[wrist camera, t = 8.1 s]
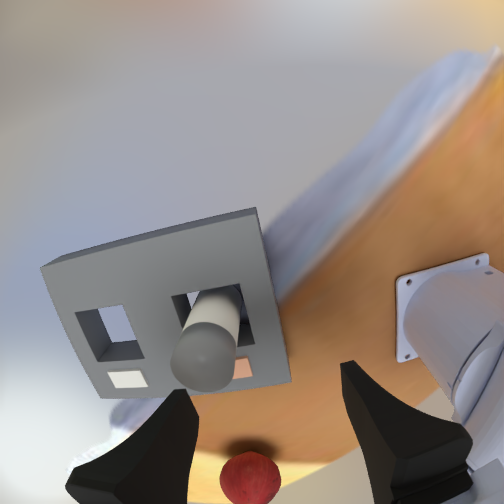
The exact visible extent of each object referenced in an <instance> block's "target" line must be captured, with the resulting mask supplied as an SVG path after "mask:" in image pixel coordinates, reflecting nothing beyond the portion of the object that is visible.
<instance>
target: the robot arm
mask: <svg viewBox="0 0 504 504" xmlns="http://www.w3.org/2000/svg"><path fill="white" fill-rule="evenodd" d="M476 260H477V262H476ZM475 262H476V263H475ZM409 279H410V282H409V283H408V284H406V282H407V280H409ZM396 305H397V340H396V360H397V361H398V362H400V363H401V362H405V361H408V360H411V359H414V358H417V357H420V359H421V360H422V362H423V363H424V364H425V366H426V367H427V368H428V370H429V371H430V373H431V374H432V376H433V377H434V378H435V380H436V381H437V383H438V384H439V385H440V387H441V388H442V390H443V391H444V393H445V394H446V396H447V397H448V399H449V400H450V402H451V403H452V405H453V406H454V414H453V415H452V420H453V421H454V422H451V421H447V420H443V419H439V418H436V417H433V416H431V415H428V414H426V413H423V412H421V411H419V410H417V409H415V408H413V407H411V406H409V405H407V404H405V403H404V402H402V401H400V400H399V399H397V398H396V397H394V396H393V395H392V394H390V393H389V392H387V391H386V390H385V389H384V388H382V387H381V386H380V385H379V384H378V383H376V382H375V381H374V380H373V379H372V378H371V377H370V376H369V375H368V374H367V373H366V372H365V371H364V370H363V369H362V368H361V367H360V366H359V365H358V364H357V363H356V362H355V361H354V360H352V361H348V362H344V363H340V368H341V380H342V394H343V399H344V402H345V406H346V410H347V414H348V416H349V419H350V421H351V424H352V426H353V429H354V431H355V434H356V436H357V439H358V441H359V444H360V446H361V449H362V452H363V455H364V459H365V462H366V467H367V471H368V475H369V479H370V484H371V488H372V493H373V498H374V503H375V504H504V273H502V272H501V271H499V270H497V269H495V268H494V267H492V266H490V265H489V255H488V254H486V253H481V254H478V255H475V256H472V257H468V258H465V259H462V260H458V261H455V262H451V263H448V264H444V265H441V266H437V267H434V268H430V269H427V270H423V271H419V272H416V273H412V274H408V275H404V276H401V277H399V278H398V279H397V281H396ZM407 354H408V355H407ZM406 355H407V356H406ZM405 356H406V357H405ZM198 429H199V416H198V414H197V411H196V409H195V407H194V405H193V403H192V401H191V399H190V397H189V395H188V392H187V390H186V388H185V389H174V390H173V391H172V392H171V393H170V394H169V396H168V397H167V398H166V399H165V400H164V402H163V403H162V404H161V405H160V406H159V407H158V409H157V410H156V411H155V412H154V413H153V414H152V415H151V416H150V418H149V419H148V420H147V421H146V422H145V423H144V424H143V425H142V426H141V427H140V428H139V429H138V430H137V431H136V432H134V433H133V434H132V435H131V436H130V437H129V438H127V439H126V440H125V441H124V442H122V443H121V444H119V445H118V446H116V447H115V448H113V449H112V450H110V451H109V452H107V453H106V454H104V455H102V456H100V457H98V458H96V459H94V460H92V461H90V462H88V463H85V464H83V465H80V466H78V467H75V468H74V469H73V471H72V473H71V475H70V477H69V479H68V481H67V483H66V485H65V488H66V490H67V492H68V493H69V494H70V495H71V496H72V497H73V498H74V499H75V500H76V501H77V502H78V503H79V504H187V492H188V481H189V473H190V468H191V464H192V459H193V455H194V451H195V446H196V442H197V437H198Z"/></svg>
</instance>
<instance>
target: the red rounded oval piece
mask: <svg viewBox="0 0 504 504" xmlns="http://www.w3.org/2000/svg"><path fill="white" fill-rule="evenodd" d="M220 485H221V488H222V490H223V492H224V494H225V495H226V497H227V498H228V499H229V500H230V501H231V502H232V503H234V504H268V503H269V502H270V501H271V500H272V499H273V498H274V496H275V495H276V493H277V492H278V491H279V488H280V486H281V476H280V472H279V469H278V466H277V465H276V464H275V463H274V462H273V461H272V460H270V459H269V458H267V457H266V456H264V455H261V454H258V453H255V452H254V451H246V452H245V453H243V454H239V455H237V456H235V457H233V458H231V459H230V460H228V461H227V462H226V464H225V465H224V466H223V468H222V471H221V474H220Z"/></svg>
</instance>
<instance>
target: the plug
mask: <svg viewBox="0 0 504 504" xmlns="http://www.w3.org/2000/svg"><path fill="white" fill-rule="evenodd" d="M241 306H242V299H241V295H240V293H239V291H238V290H237V289H236V288H235V287H234V286H233V285H228V286H222V287H217V288H212V289H207V290H201V291H200V292H199V294H198V296H197V298H196V301H195V303H194V305H193V308H192V310H191V312H190V314H189V317H188V319H187V321H186V324H185V326H184V328H183V330H182V333H181V335H180V337H179V340H178V342H177V344H176V347H175V349H174V352H173V354H172V356H171V360H170V367H171V371H172V373H173V375H174V376H175V378H176V379H177V380H178V381H179V382H180V383H181V384H182V385H184V386H185V387H187V388H189V389H191V390H194V391H198V392H206V393H207V392H215V391H219V390H221V389H223V388H225V387H226V386H227V385H228V384H229V383H230V382H231V381H232V379H233V376H234V369H235V360H236V351H237V342H238V333H239V324H240V315H241Z"/></svg>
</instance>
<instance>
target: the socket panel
mask: <svg viewBox="0 0 504 504" xmlns="http://www.w3.org/2000/svg"><path fill="white" fill-rule="evenodd" d="M40 270H41V273H42V276H43V278H44V281H45V284H46V286H47V289H48V292H49V294H50V297H51V299H52V301H53V304H54V307H55V309H56V311H57V314H58V316H59V318H60V321H61V323H62V325H63V327H64V330H65V332H66V333H67V336H68V338H69V340H70V342H71V344H72V346H73V348H74V350H75V352H76V354H77V356H78V358H79V360H80V362H81V364H82V366H83V368H84V370H85V372H86V373H87V375H88V377H89V379H90V380H91V382H92V384H93V386H94V388H95V389H96V391H97V393H98V394H99V396H100V398H106V399H130V398H162V397H168V396H169V394H170V393H171V392H172V391H173V390H174V389H185V388H186V390H187V392H188V395H189V396H192V395H203V394H214V393H223V392H231V391H239V390H246V389H253V388H260V387H266V386H272V385H278V384H284V383H290V382H292V381H291V373H290V366H289V359H288V354H287V349H286V344H285V339H284V334H283V330H282V325H281V320H280V315H279V311H278V306H277V301H276V296H275V292H274V287H273V282H272V278H271V273H270V268H269V264H268V259H267V255H266V250H265V245H264V241H263V236H262V232H261V227H260V223H259V218H258V214H257V210H256V207H253V208H249V209H244V210H240V211H235V212H231V213H226V214H222V215H217V216H213V217H209V218H205V219H200V220H196V221H192V222H187V223H184V224H179V225H175V226H171V227H167V228H163V229H159V230H155V231H151V232H147V233H143V234H139V235H136V236H132V237H128V238H124V239H120V240H116V241H113V242H109V243H106V244H102V245H98V246H94V247H91V248H88V249H84V250H80V251H77V252H73V253H70V254H66V255H63V256H60V257H58V258H56V259H55V260H53V261H51V262H49V263H48V264H46V265H44V266H42V267H40ZM238 283H240V287H241V291H242V295H243V299H244V303H245V306H246V310H247V314H248V318H249V322H250V323H249V324H243V325H239V333H238V342H237V351H236V360H235V369H234V376H233V379H232V381H231V382H230V383H229V384H228V385H227V386H226V387H225V388H223V389H221V390H219V391H215V392H207V393H206V392H198V391H194V390H191V389H189V388H187V387H185V386H184V385H182V384H181V383H180V382H179V381H178V380H177V379H176V378H175V376H174V375H173V373H172V371H171V367H170V360H171V356H172V354H173V352H174V349H175V347H176V344H177V342H178V340H179V337H180V335H181V333H182V330H183V328H184V326H185V324H186V321H187V319H188V317H189V314H190V312H191V310H192V309H191V306H190V303H189V300H188V297H187V294H186V293H191V292H196V291H201V290H207V289H212V288H217V287H222V286H228V285H233V284H238ZM116 305H123V307H124V310H125V312H126V315H127V317H128V320H129V322H130V325H131V327H132V329H133V332H134V334H135V336H136V339H137V340H132V341H123V342H114V343H112V341H111V339H110V337H109V335H108V333H107V330H106V328H105V326H104V323H103V321H102V319H101V316H100V314H99V311H98V308H104V307H110V306H116Z"/></svg>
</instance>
